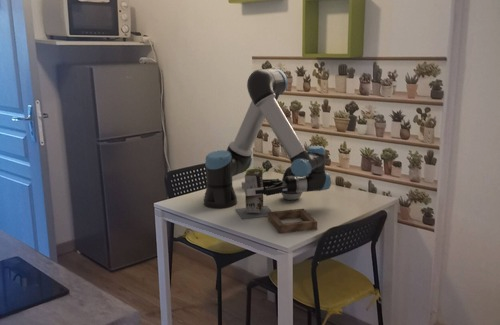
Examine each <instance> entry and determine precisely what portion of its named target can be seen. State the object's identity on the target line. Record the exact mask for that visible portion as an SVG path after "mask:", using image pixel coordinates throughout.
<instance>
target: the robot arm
mask: <svg viewBox="0 0 500 325" xmlns="http://www.w3.org/2000/svg"><path fill="white" fill-rule="evenodd" d="M288 83H289V82H288V78H287V75H286V74H285V72H283V70H282V69H279V68H275V67H270V68H265V69H261V68H260V69H257V70H254V71H253V72H251V73H250V74H249V77H248V78H247V81H246V88H247V92H248V95H249V97H250V99H251V102H250V104H249V107H248V109H247V111H246V113H245V115H244V118H243V120H242V123H241V124H240V127H239V129H238V132H237V134H236V136H235V138H234V140H233V141H230V142H229V143H228V144H229V145H228V146H227V148H226V150H222V149H221V150H216V151H212V152H209V153H208V154H206V156H205V162H204V164H205V174H206V175H205V177H206V179H205V180H206V190H205V194H204V197H203V205H204V206H205V207H207V208H213V209H223V208H224V209H225V208H230V207H234V206H236V205H237V203H238V197H237V194H236V193H235V189H234V186H233V177H234V176H237V175H240V174H243V173H245V171H246V170H248V169H250V167H251V165H252V163H253V162H252V161H253V157H252V156H253V151H252V147H253V145H254V144H255V141H256V139H257V137H258V134H259V132H260V130H261V128H262V125H263V123H264V121H265V120H266V122H267V123H268V125H269V127H270V128H271V129H272V130H271V131H272V132H273V134H275V138H277V140H278V142H279V143H280V145H281V147H282V149H283V150H284V152H285V153H286V155H287V157H288V158H289V161H290V162H291V165H290V166H291V171H292V173H293V174H294V175H295V176H286V177H285V179H284V181H282V179H281V180H280V179H279V178H270V179H267V178H266V179H265V178H263V188H252V189H247V196H250V195H261V194H263V196H264V195H265V196H267V197H268V196H273V195H279V194H282V193H288V194H290V193H295V192H297V193H299V192H300V193H302V194H303V193H307V192H308V193H309V192H321V191H327V190H329V189H330V188H331V186H332V180H331V175H330V174H329V172H326V150H325V147H324V146H320V145H311V146H308V147H307V150H306V148H305V146H304V145H303V144H302V142H301V140H300V138H299V137H298V135H297V133H296V132H295V130H294V128H293V126H292V125H291V123H290V122H289V120H288V118H287V116H286V114H285V113H284V111H283V109H282V108H281V107H280V105H279V102H278V98H280V95H282V94H283V93H284V92H285V91H286V90H287V88H288ZM241 189H242V190H245V181H241Z"/></svg>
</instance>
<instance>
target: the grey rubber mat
mask: <svg viewBox="0 0 500 325" xmlns="http://www.w3.org/2000/svg"><path fill="white" fill-rule="evenodd" d="M235 211H236V212H237V214H238V215H239V217H240V218H241V220H248V219H249V220H250V219H258V218H267V217H268V212H273V211H272V209H270V208H269V206H268V205H263V208H262V210H261V212H260V213H250V212H246V207H240V208H235Z"/></svg>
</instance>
